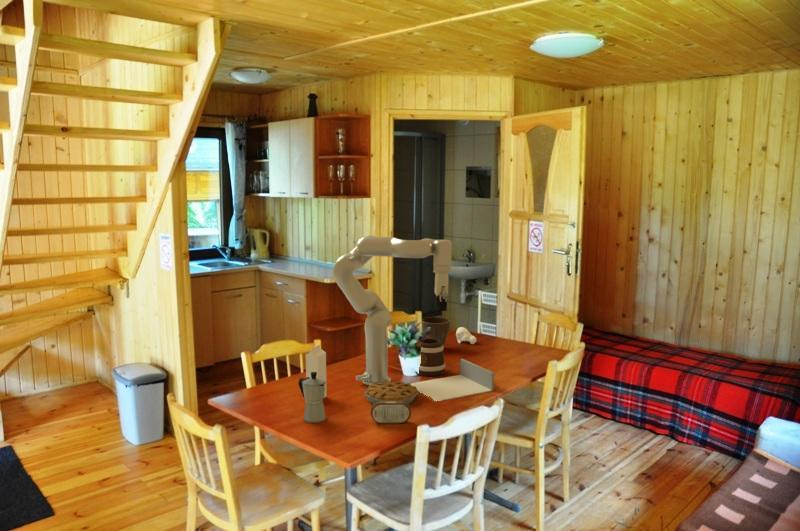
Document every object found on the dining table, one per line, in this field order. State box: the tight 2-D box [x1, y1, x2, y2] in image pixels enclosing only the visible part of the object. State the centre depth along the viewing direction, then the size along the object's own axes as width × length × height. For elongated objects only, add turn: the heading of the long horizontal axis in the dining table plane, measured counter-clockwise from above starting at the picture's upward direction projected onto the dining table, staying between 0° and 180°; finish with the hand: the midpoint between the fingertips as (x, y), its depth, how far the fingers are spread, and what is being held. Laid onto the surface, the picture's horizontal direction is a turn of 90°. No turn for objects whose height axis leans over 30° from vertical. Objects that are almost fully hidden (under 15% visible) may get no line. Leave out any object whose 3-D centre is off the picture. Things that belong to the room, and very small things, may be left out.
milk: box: [305, 344, 327, 399], centre depth 252 cm, size 6×6×22 cm
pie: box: [364, 380, 419, 405], centre depth 253 cm, size 22×22×5 cm
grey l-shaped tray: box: [410, 358, 495, 403], centre depth 266 cm, size 29×24×9 cm
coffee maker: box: [297, 372, 327, 424], centre depth 231 cm, size 15×9×18 cm, turn 48°
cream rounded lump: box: [455, 326, 477, 345], centre depth 341 cm, size 6×8×12 cm
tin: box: [370, 400, 412, 425], centre depth 227 cm, size 15×3×8 cm, turn 92°
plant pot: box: [421, 316, 451, 346], centre depth 328 cm, size 15×15×16 cm
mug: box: [419, 338, 447, 377], centre depth 290 cm, size 20×15×15 cm
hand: (441, 308), depth 263 cm, fingers open, 9 cm apart
